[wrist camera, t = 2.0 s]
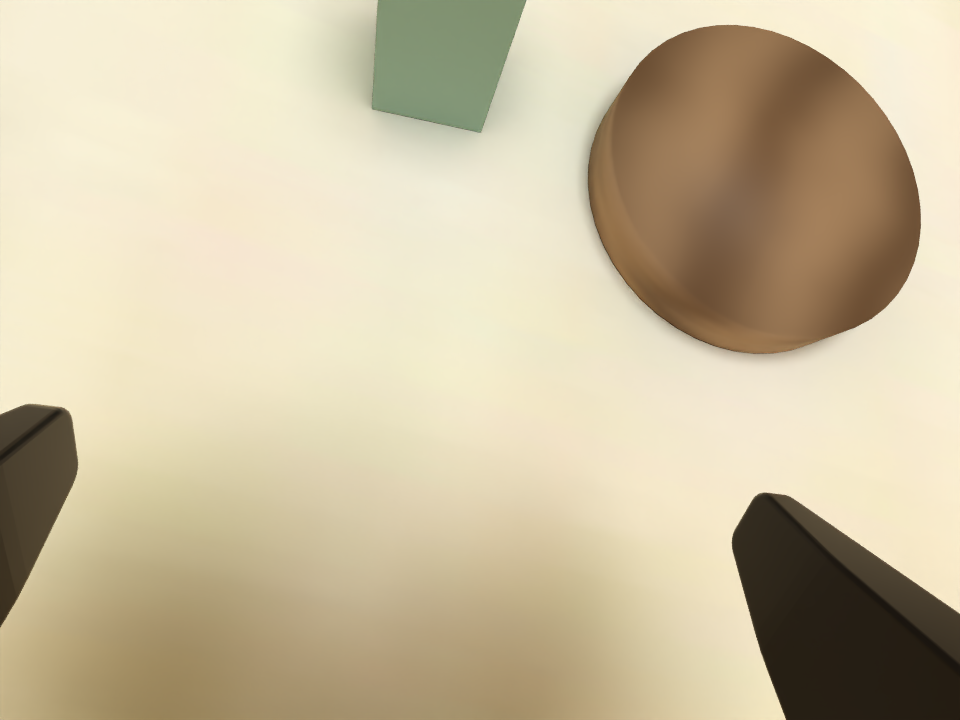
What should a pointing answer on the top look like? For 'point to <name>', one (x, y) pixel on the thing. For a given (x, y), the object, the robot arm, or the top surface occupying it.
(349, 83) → the top surface
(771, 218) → the walnut base
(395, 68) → the sage green post
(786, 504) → the robot arm
